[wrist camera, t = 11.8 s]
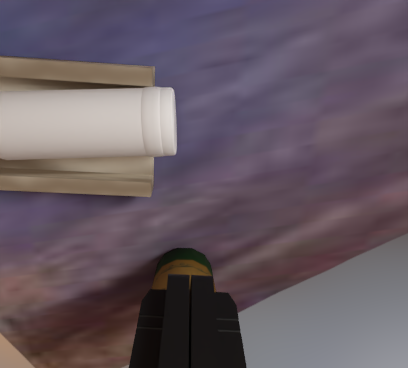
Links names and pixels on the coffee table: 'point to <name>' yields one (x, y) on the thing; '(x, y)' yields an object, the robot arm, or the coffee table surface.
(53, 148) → the bottle
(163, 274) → the bottle
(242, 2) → the coffee table surface
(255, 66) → the coffee table surface
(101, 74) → the cradle
